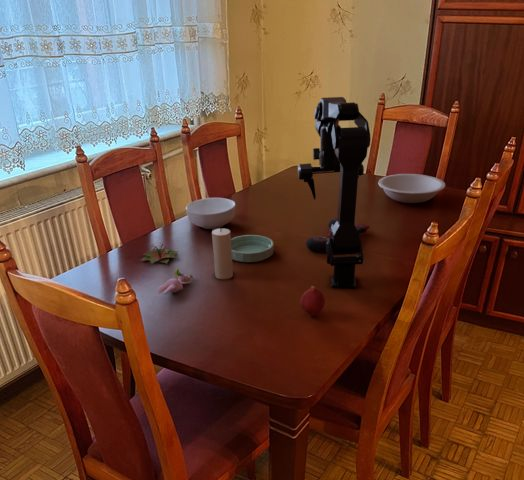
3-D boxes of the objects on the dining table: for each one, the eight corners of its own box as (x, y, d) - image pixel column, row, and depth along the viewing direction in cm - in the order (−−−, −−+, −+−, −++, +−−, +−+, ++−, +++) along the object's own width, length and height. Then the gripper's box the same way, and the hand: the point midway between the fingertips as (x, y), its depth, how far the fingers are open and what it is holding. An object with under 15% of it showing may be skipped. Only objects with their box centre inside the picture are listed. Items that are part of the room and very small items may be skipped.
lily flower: (186, 252, 168) (184, 238, 165) (169, 268, 158) (167, 253, 156) (151, 248, 171) (149, 234, 169) (133, 263, 162) (130, 249, 159)
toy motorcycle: (302, 255, 167) (351, 257, 159) (300, 239, 164) (350, 239, 156) (334, 230, 185) (379, 230, 177) (333, 215, 183) (378, 215, 175)
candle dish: (271, 263, 159) (271, 253, 157) (223, 263, 161) (222, 252, 159) (275, 244, 171) (275, 235, 169) (230, 244, 173) (229, 234, 171)
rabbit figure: (178, 282, 154) (151, 298, 141) (177, 261, 151) (149, 276, 138) (198, 285, 152) (172, 301, 139) (198, 264, 149) (171, 279, 136)
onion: (309, 306, 137) (310, 278, 133) (328, 313, 134) (330, 284, 130) (296, 316, 133) (296, 287, 129) (315, 323, 130) (316, 293, 126)
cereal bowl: (207, 213, 197) (205, 194, 193) (245, 221, 189) (244, 201, 185) (177, 229, 185) (175, 208, 181) (217, 237, 177) (216, 216, 173)
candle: (231, 279, 151) (228, 231, 144) (213, 279, 152) (210, 231, 144) (234, 271, 155) (231, 225, 148) (217, 271, 156) (213, 224, 148)
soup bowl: (386, 187, 217) (388, 171, 213) (447, 194, 208) (450, 177, 204) (368, 206, 199) (370, 188, 195) (435, 214, 190) (438, 196, 186)
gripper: (358, 134, 160) (356, 185, 169) (295, 139, 160) (296, 190, 170) (365, 145, 151) (362, 199, 161) (298, 150, 151) (299, 204, 161)
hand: (329, 197), depth 163 cm, fingers open, 9 cm apart
